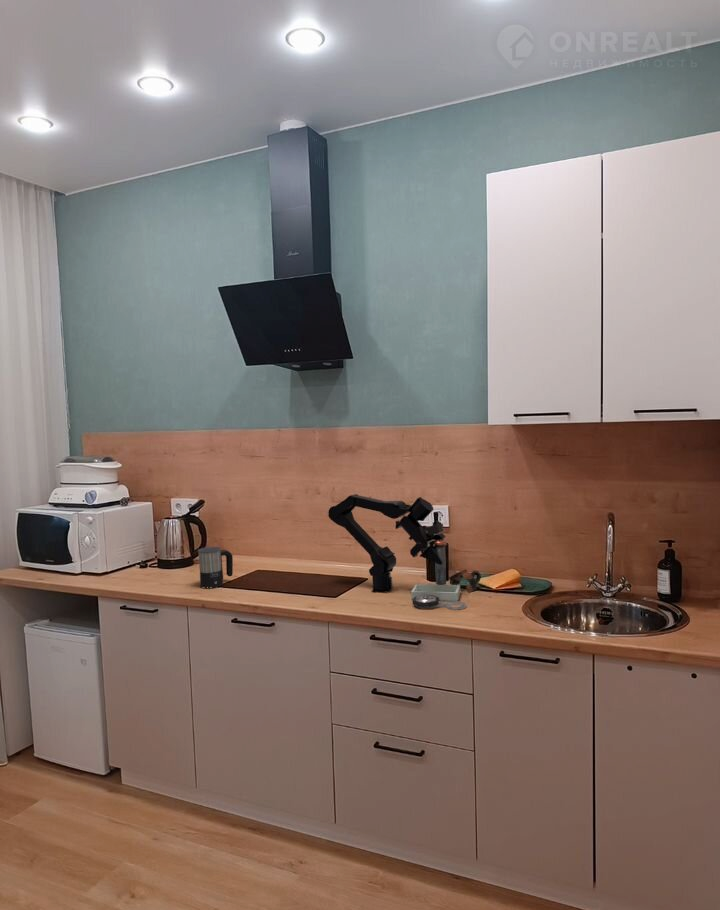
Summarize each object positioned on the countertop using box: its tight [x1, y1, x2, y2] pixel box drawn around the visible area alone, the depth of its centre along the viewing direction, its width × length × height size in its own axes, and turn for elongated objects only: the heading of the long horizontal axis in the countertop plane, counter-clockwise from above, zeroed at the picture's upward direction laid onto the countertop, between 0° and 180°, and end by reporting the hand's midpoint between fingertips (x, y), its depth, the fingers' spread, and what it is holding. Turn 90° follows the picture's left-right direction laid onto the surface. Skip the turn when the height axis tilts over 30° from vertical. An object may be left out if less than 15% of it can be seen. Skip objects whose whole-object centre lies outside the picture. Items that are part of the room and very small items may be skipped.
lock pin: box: [433, 539, 447, 585], centre depth 234 cm, size 4×4×15 cm
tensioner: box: [411, 595, 467, 611], centre depth 223 cm, size 18×9×3 cm, turn 76°
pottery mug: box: [448, 568, 482, 593], centre depth 244 cm, size 12×10×8 cm
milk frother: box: [197, 546, 234, 589], centre depth 268 cm, size 14×16×15 cm
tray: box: [410, 583, 461, 602], centre depth 235 cm, size 16×10×3 cm, turn 76°
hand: (444, 562), depth 233 cm, fingers closed on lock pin, 4 cm apart
